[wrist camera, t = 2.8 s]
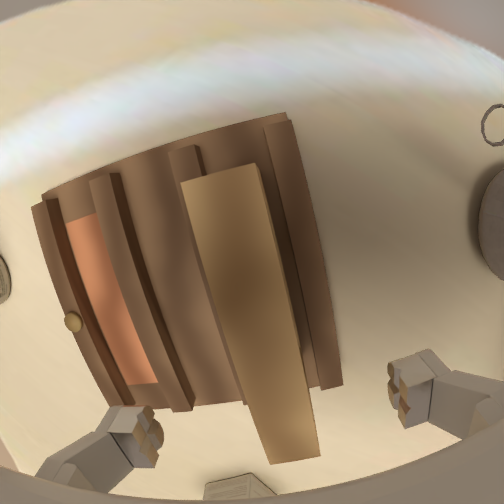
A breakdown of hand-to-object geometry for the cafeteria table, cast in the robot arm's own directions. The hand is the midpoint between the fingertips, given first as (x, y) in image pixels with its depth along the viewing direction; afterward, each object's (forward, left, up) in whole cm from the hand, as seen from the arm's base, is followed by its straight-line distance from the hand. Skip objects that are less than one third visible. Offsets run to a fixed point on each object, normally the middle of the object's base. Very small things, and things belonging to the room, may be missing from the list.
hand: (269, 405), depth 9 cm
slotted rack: (+7, 0, -17) cm, 19 cm away
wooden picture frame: (0, 0, -16) cm, 16 cm away
